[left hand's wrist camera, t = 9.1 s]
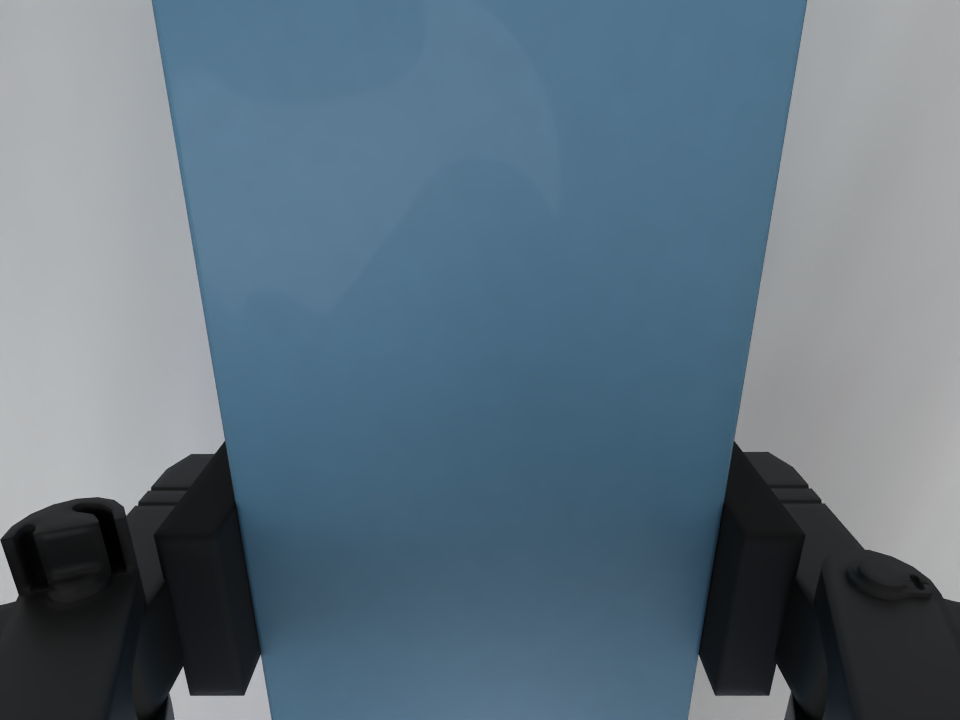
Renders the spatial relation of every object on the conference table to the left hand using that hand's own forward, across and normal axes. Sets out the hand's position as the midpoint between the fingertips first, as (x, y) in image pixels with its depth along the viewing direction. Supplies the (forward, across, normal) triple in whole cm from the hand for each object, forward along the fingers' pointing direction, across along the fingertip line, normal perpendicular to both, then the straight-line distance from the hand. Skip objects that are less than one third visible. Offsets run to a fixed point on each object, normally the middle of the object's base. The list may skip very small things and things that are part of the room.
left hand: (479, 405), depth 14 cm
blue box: (+3, 0, -4) cm, 5 cm away
